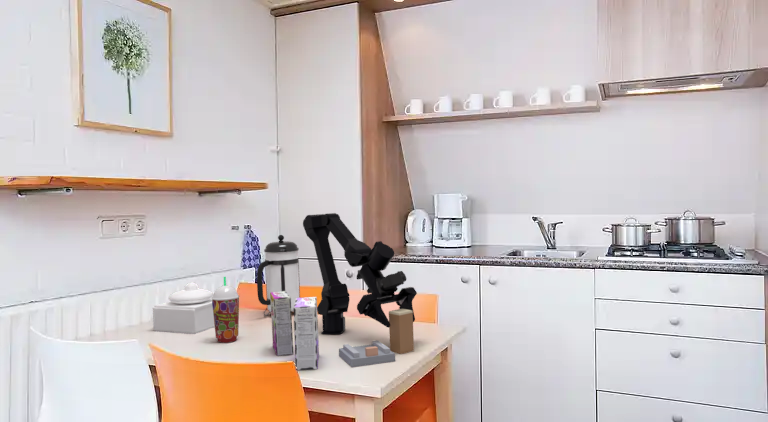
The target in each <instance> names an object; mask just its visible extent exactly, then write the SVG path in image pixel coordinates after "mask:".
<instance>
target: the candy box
mask: <svg viewBox="0 0 768 422" xmlns="http://www.w3.org/2000/svg"><path fill="white" fill-rule="evenodd" d="M317 307H318V298H317V296H306V297H299V298H296V301H295V305H294V311H293V326H294V327H293V328H294V331H293V333H294V335H293V336H294V358H295V359H294V361H295V364H296V365H295V368H296V367H297V369H298V370H297V371H307V370H308V371H309V370H310V371H311V370H314V371H315V370H318V368H319V357H320V351H319V350H320V349H319V348H320V347H319V346H320V344H319V324H318V323H319V319H318V311H317Z"/></svg>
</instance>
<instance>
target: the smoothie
mask: <svg viewBox="0 0 768 422" xmlns="http://www.w3.org/2000/svg"><path fill="white" fill-rule="evenodd" d="M212 306H213V315H214V325H215V327H214V332H215V338H216V339H217V342H218V343H225V344H227V343H233V342H235V341H236V340H237V339H238V337H239V326H240V325H239V321H240V320H239V319H240V317H239V315H240V314H239V311H240V295H239V293H238V292H237V290H236V289H235V288H234V287H233V286H231V285H227V278H226V276H223V285H222V286H219V287H218V288H216V290H214V292H213V297H212Z"/></svg>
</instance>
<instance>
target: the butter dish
mask: <svg viewBox="0 0 768 422" xmlns="http://www.w3.org/2000/svg"><path fill="white" fill-rule="evenodd" d="M213 294H214V292H212V291H211V290H209V289H206V288H199V285H198V284H197V283H196V282H192V281H190V282H188V283H187V284H186V285H185V286H184V289H180V290H177V291H175V292H172V293H171V294H170V295H169V296H168V300H169V301H167V302H164V303H159V304H155V305H153V307H152V319H153V321H152V322H153V324H152V325H153V332H160V333H161V332H162V333H163V332H164V333H176V334H187V335H188V334H189V335H195V334H199V333H201V332H205V331H208V330H210V329H213V328H214V329H215V325H214V315H213V306H212V297H213Z"/></svg>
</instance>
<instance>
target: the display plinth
mask: <svg viewBox="0 0 768 422" xmlns="http://www.w3.org/2000/svg"><path fill="white" fill-rule="evenodd" d="M338 356H339V358H341V359H342V360H343V361H344V362H345V363H347V364H348V365H349V366H350V367H351V368H355V367H362V366H371V365H377V364H384V363H391V362H392V363H393V362H396V353H394V352H392V351H390V347H389V346H387V345H385V344H383V343H382V342H381V341H379V340H372V343H371V344H365V345H357V346H356V345H355V346H352V345H350V344H349V343H344V344H342V347H340V348H339V347H338Z"/></svg>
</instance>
